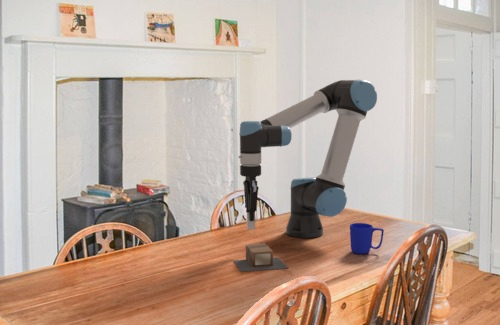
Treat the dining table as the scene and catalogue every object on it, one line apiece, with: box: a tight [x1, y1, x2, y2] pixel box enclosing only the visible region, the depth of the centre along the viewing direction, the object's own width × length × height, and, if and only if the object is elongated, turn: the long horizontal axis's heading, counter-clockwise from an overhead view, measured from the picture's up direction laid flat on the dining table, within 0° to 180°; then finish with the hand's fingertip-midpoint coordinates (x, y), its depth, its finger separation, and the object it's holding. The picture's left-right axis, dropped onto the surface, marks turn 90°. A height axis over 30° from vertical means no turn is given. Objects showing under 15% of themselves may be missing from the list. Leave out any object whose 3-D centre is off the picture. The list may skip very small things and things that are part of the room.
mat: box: [233, 256, 289, 273], centre depth 195 cm, size 12×16×1 cm
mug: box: [349, 222, 384, 255], centre depth 209 cm, size 8×12×10 cm
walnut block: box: [245, 243, 274, 267], centre depth 196 cm, size 5×7×10 cm
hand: (250, 229), depth 208 cm, fingers closed
